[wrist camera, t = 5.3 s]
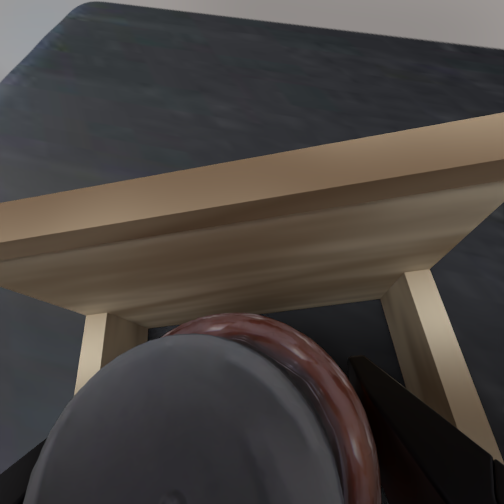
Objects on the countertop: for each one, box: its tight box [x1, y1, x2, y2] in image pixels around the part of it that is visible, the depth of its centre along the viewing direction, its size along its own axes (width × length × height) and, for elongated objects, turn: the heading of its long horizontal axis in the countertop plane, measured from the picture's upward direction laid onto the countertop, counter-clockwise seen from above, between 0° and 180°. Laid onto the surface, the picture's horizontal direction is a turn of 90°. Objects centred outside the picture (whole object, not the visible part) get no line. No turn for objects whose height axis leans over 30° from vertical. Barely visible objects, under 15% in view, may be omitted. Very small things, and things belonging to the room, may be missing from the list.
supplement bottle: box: [23, 313, 382, 504], centre depth 8 cm, size 6×6×11 cm
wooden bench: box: [0, 113, 504, 465], centre depth 9 cm, size 12×15×11 cm
